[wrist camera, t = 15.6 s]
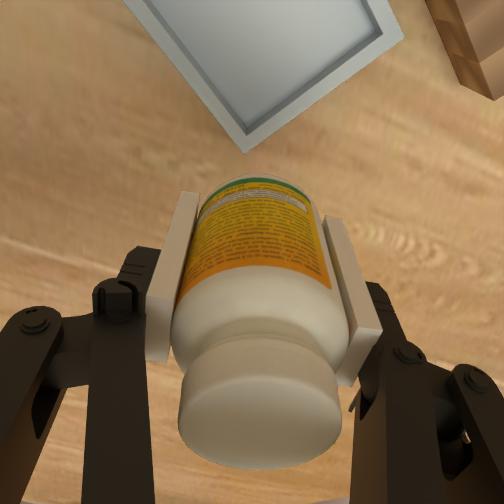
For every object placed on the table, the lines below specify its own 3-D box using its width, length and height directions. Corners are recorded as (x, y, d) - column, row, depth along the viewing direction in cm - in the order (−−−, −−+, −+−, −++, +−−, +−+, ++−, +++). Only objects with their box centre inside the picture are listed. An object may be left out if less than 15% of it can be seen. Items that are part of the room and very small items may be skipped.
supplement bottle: (337, 245, 18) (403, 455, 10) (236, 288, 19) (224, 501, 12) (285, 144, 15) (318, 325, 7) (172, 204, 17) (100, 407, 9)
